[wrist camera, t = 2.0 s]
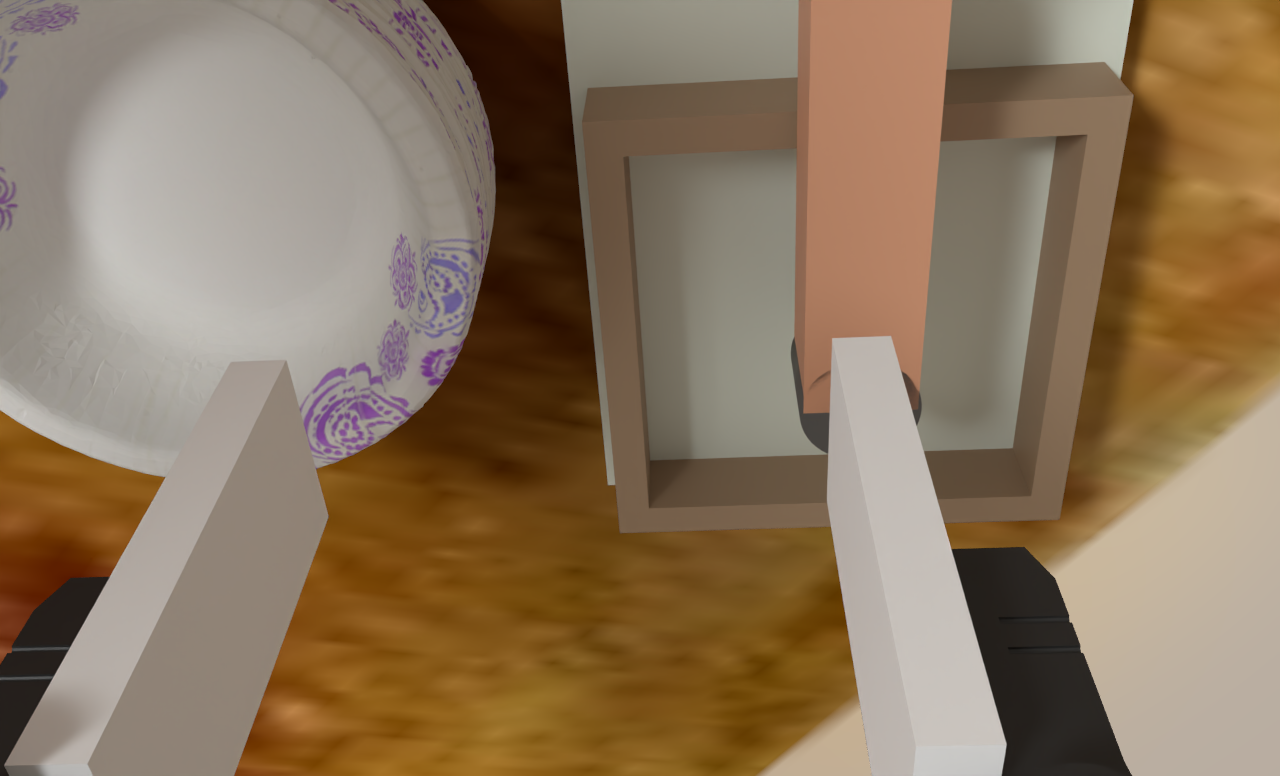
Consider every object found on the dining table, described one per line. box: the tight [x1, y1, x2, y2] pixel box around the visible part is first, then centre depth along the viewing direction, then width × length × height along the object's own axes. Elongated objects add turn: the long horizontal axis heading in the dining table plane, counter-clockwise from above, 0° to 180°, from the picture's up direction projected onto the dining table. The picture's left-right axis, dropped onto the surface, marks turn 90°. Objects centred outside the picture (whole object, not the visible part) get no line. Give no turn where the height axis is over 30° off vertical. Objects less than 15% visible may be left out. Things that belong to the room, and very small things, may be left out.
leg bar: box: [791, 0, 952, 454], centre depth 29 cm, size 17×4×3 cm, turn 3°
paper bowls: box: [0, 0, 496, 477], centre depth 32 cm, size 15×15×8 cm
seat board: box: [561, 0, 1134, 533], centre depth 33 cm, size 15×24×4 cm, turn 3°
